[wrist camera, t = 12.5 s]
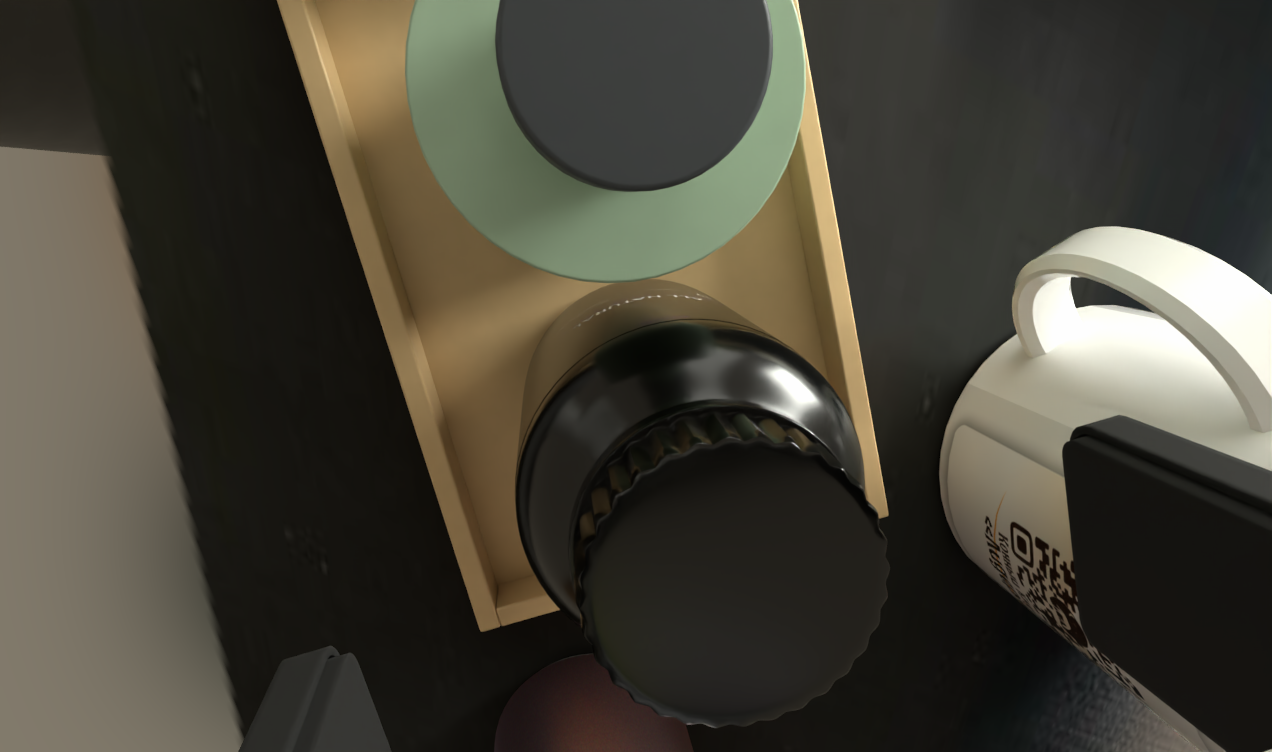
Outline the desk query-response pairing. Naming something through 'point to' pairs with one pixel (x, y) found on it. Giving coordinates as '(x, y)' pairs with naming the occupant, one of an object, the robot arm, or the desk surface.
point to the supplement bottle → (696, 505)
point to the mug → (1100, 406)
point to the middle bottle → (606, 124)
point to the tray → (529, 289)
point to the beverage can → (583, 715)
